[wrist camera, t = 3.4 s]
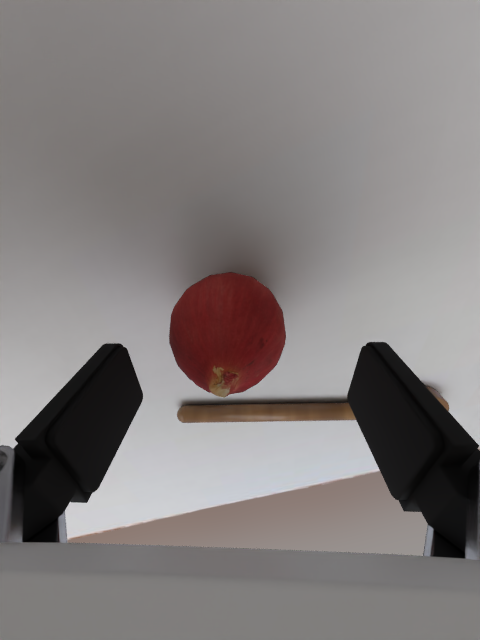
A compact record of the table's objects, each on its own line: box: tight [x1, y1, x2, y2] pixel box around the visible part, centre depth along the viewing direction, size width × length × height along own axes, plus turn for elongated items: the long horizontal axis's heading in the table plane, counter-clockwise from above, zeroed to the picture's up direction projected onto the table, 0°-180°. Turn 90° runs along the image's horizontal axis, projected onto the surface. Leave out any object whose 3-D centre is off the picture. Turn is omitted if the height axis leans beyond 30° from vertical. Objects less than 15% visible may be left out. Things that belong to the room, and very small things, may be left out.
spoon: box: [177, 386, 449, 423], centre depth 19 cm, size 23×5×1 cm, turn 92°
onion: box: [169, 272, 286, 398], centre depth 11 cm, size 6×6×8 cm
